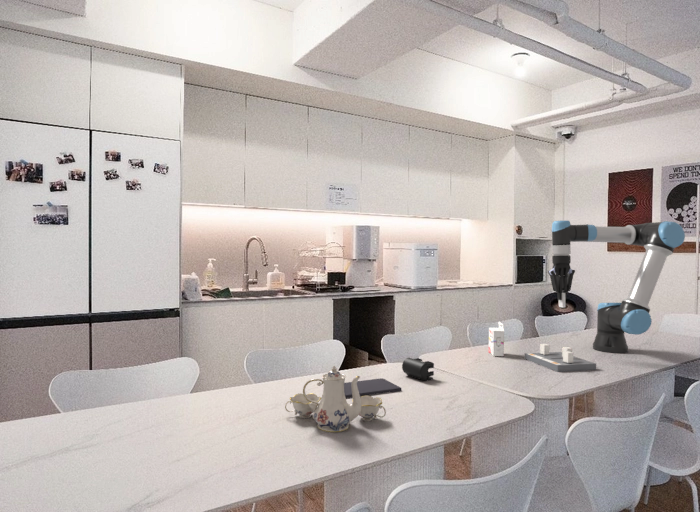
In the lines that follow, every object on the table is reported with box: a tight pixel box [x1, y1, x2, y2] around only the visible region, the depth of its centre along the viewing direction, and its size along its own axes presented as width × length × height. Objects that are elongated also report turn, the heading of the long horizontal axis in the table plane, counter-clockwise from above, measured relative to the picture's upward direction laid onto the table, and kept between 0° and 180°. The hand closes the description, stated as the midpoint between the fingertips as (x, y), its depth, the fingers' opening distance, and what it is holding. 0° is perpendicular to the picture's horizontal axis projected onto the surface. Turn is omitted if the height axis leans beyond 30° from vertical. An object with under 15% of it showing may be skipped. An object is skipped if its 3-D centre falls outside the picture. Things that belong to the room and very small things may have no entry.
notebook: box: [344, 378, 402, 399], centre depth 161 cm, size 13×2×21 cm
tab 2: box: [561, 346, 573, 357], centre depth 202 cm, size 2×3×4 cm
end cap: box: [401, 357, 435, 382], centre depth 176 cm, size 10×7×7 cm
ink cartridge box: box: [488, 321, 505, 357], centre depth 217 cm, size 9×5×15 cm, turn 179°
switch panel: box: [523, 351, 597, 373], centre depth 201 cm, size 18×22×3 cm
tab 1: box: [539, 343, 550, 355], centre depth 208 cm, size 2×3×4 cm
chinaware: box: [284, 365, 387, 433], centre depth 131 cm, size 28×17×17 cm, turn 91°
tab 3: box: [563, 351, 575, 363], centre depth 194 cm, size 2×3×4 cm
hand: (562, 307), depth 216 cm, fingers closed
